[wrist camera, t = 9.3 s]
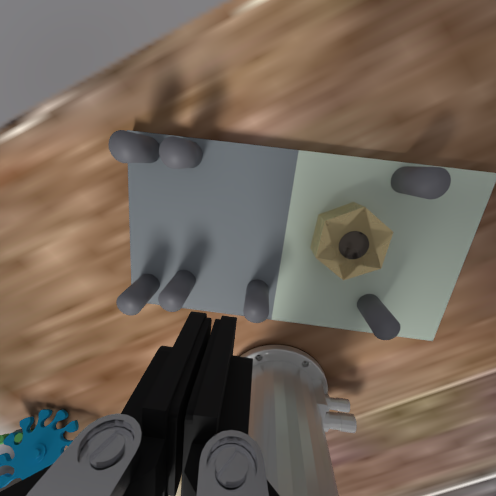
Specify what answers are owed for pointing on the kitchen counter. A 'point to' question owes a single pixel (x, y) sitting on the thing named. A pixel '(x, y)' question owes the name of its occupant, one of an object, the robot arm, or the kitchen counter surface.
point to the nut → (350, 240)
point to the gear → (35, 445)
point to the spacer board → (291, 233)
